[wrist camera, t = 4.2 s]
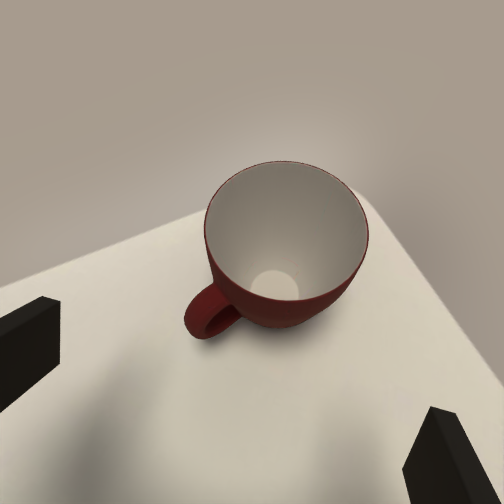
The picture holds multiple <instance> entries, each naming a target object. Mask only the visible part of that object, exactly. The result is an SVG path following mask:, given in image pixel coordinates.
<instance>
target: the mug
mask: <svg viewBox="0 0 504 504" xmlns="http://www.w3.org/2000/svg"><path fill="white" fill-rule="evenodd" d="M204 239H205V244H206V250H207V255H208V259H209V263H210V267H211V271H212V275H213V279H214V281H213V283H212V284H211V285H209V286H208V287H206V288H205V289H204V290H202V291H201V292H200V293H199V294H198V295H197V296H196V297H195V298H194V299H193V300H192V301H191V303H190V304H189V306H188V308H187V309H186V312H185V316H184V322H185V326H186V328H187V330H188V331H189V332H190V334H191V335H192V336H194V337H195V338H197V339H208V338H211V337H213V336H215V335H217V334H219V333H221V332H222V331H224V330H225V329H227V328H228V327H229V326H231V325H232V324H233V323H235V322H236V321H237V320H238V319H240V318H241V317H245V318H247V319H248V320H250V321H252V322H254V323H256V324H259V325H262V326H265V327H270V328H287V327H291V326H294V325H297V324H300V323H302V322H304V321H306V320H307V319H309V318H311V317H313V316H314V315H316V314H318V313H320V312H321V311H323V310H325V309H326V308H327V307H329V306H330V305H331V304H332V303H334V302H335V301H336V300H337V299H338V298H339V297H340V296H341V295H342V293H343V292H344V291H345V290H346V288H347V287H348V286H349V284H350V283H351V281H352V280H353V278H354V277H355V275H356V273H357V271H358V270H359V268H360V266H361V264H362V262H363V260H364V258H365V255H366V251H367V248H368V241H369V230H368V223H367V218H366V215H365V212H364V210H363V208H362V206H361V204H360V202H359V200H358V199H357V198H356V196H355V195H354V193H353V192H352V191H351V190H350V189H349V188H348V187H347V186H346V185H345V184H344V183H343V182H341V181H340V180H339V179H338V178H336V177H335V176H333V175H331V174H330V173H328V172H326V171H324V170H322V169H320V168H317V167H314V166H311V165H308V164H304V163H299V162H291V161H275V162H266V163H261V164H258V165H254V166H251V167H249V168H246V169H244V170H242V171H240V172H239V173H237V174H235V175H234V176H232V177H231V178H229V179H228V180H227V181H226V182H225V183H224V184H223V185H222V186H221V187H220V188H219V189H218V190H217V192H216V193H215V194H214V196H213V198H212V199H211V201H210V203H209V206H208V208H207V211H206V215H205V220H204Z"/></svg>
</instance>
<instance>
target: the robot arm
mask: <svg viewBox="0 0 504 504" xmlns="http://www.w3.org/2000/svg"><path fill="white" fill-rule="evenodd" d="M60 303H61V301H58V300H54V299H51V298H47V297H44V296H41V297H39V298H37V299H35V300H33V301H31V302H30V303H28V304H26V305H24V306H22V307H20V308H18V309H16V310H14V311H13V312H11V313H9V314H7V315H5V316H3V317H1V318H0V413H1V412H2V411H3V410H4V409H6V408H7V407H8V406H9V405H10V404H12V403H13V402H14V401H15V400H17V399H18V398H19V397H20V396H21V395H23V394H24V393H25V392H26V391H27V390H29V389H30V388H31V387H32V386H33V385H35V384H36V383H37V382H38V381H40V380H41V379H42V378H43V377H44V376H46V375H47V374H48V373H49V372H50V371H52V370H53V369H54V368H55V367H56V366H58V365H59V364H60ZM402 471H403V475H404V479H405V483H406V487H407V491H408V495H409V498H410V502H411V504H501V502H500V500H499V498H498V496H497V494H496V492H495V490H494V488H493V486H492V484H491V482H490V480H489V478H488V476H487V474H486V472H485V470H484V468H483V467H482V465H481V463H480V461H479V459H478V457H477V455H476V453H475V451H474V449H473V447H472V445H471V443H470V441H469V439H468V437H467V435H466V433H465V431H464V429H463V427H462V425H461V423H460V421H459V419H458V417H457V415H456V413H453V412H449V411H445V410H442V409H438V408H435V407H431V406H430V408H429V411H428V413H427V415H426V417H425V420H424V422H423V424H422V426H421V428H420V431H419V433H418V435H417V437H416V440H415V442H414V444H413V446H412V448H411V451H410V453H409V455H408V457H407V460H406V462H405V464H404V466H403V468H402Z"/></svg>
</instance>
